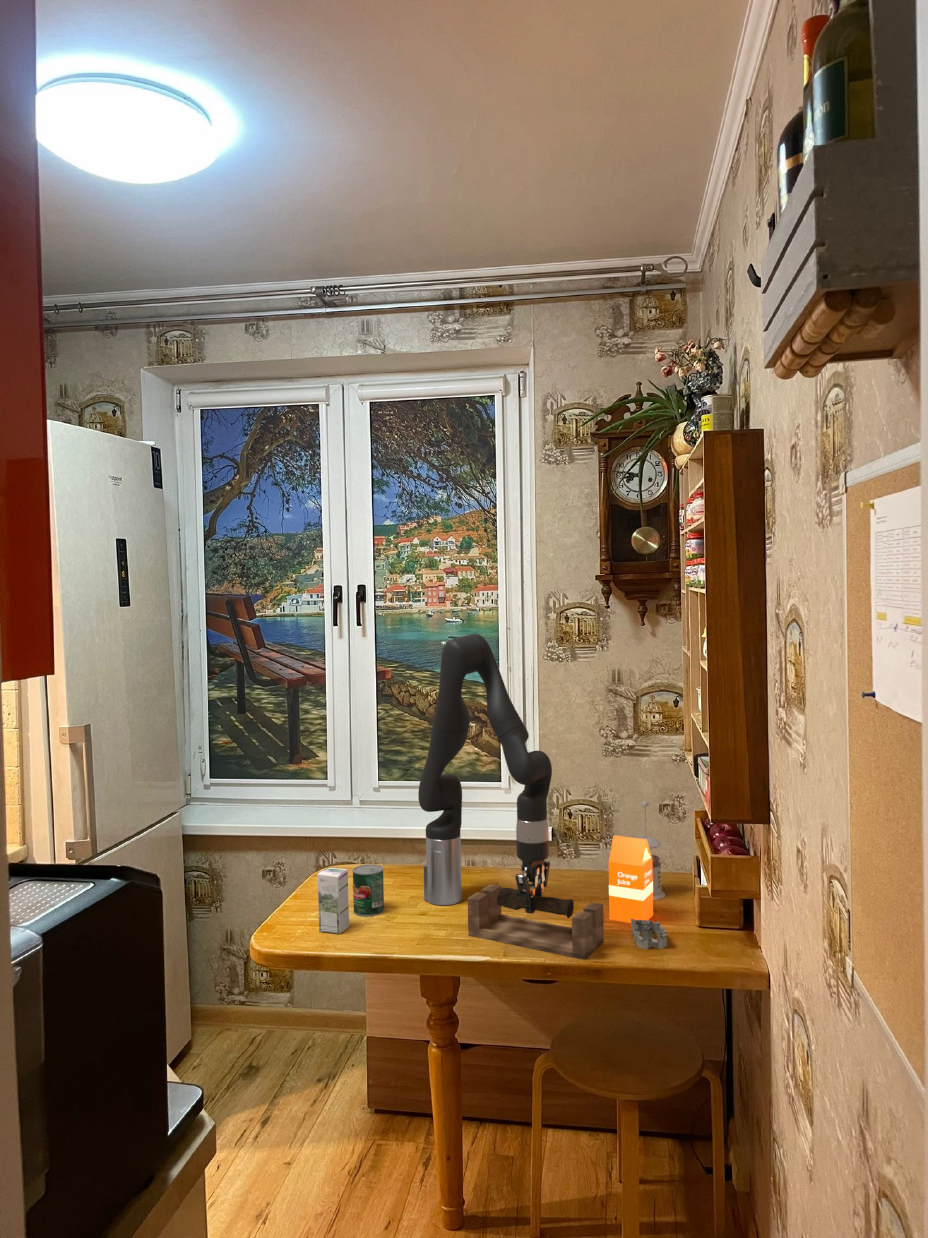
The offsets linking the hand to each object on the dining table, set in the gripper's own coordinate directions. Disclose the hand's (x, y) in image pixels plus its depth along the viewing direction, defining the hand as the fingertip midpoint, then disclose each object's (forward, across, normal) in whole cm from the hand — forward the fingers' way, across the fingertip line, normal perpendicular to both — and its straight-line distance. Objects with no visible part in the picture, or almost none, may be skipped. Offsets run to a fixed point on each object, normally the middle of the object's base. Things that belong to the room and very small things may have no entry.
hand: (533, 909), depth 211 cm
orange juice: (+7, +24, -15) cm, 29 cm away
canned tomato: (+7, -4, +46) cm, 47 cm away
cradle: (+7, 0, 0) cm, 7 cm away
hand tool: (+1, -1, 0) cm, 1 cm away
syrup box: (+7, -18, +46) cm, 50 cm away
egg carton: (+7, +12, -24) cm, 27 cm away
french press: (+7, +41, -13) cm, 43 cm away
